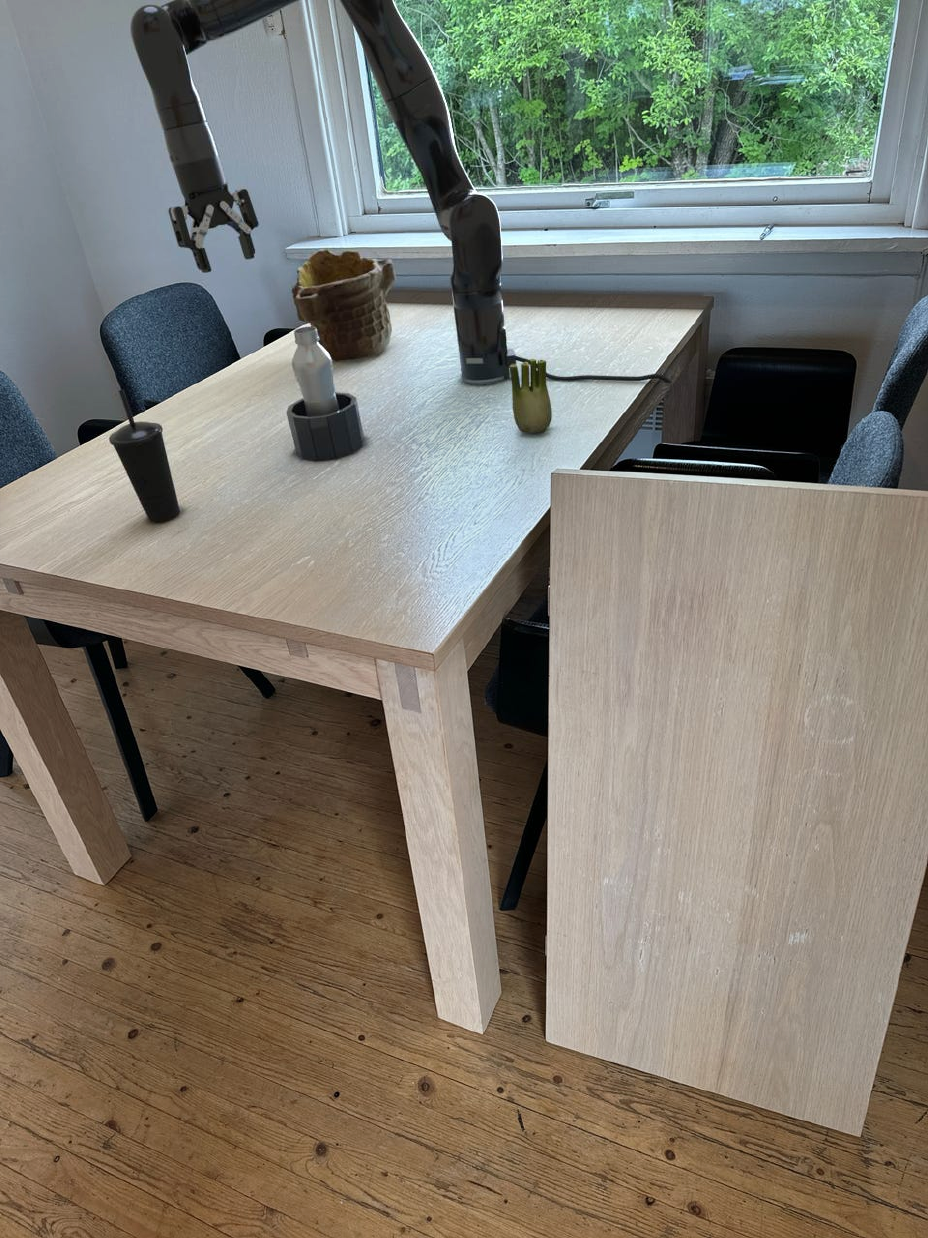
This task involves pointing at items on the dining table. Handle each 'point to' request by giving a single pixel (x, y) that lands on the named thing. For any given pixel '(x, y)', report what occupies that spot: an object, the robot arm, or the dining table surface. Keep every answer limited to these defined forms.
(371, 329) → the ceramic vessel
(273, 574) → the dining table surface
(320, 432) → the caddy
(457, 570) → the dining table surface
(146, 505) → the drinking cup
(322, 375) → the silver water bottle
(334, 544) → the dining table surface
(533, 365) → the fennel bulb
